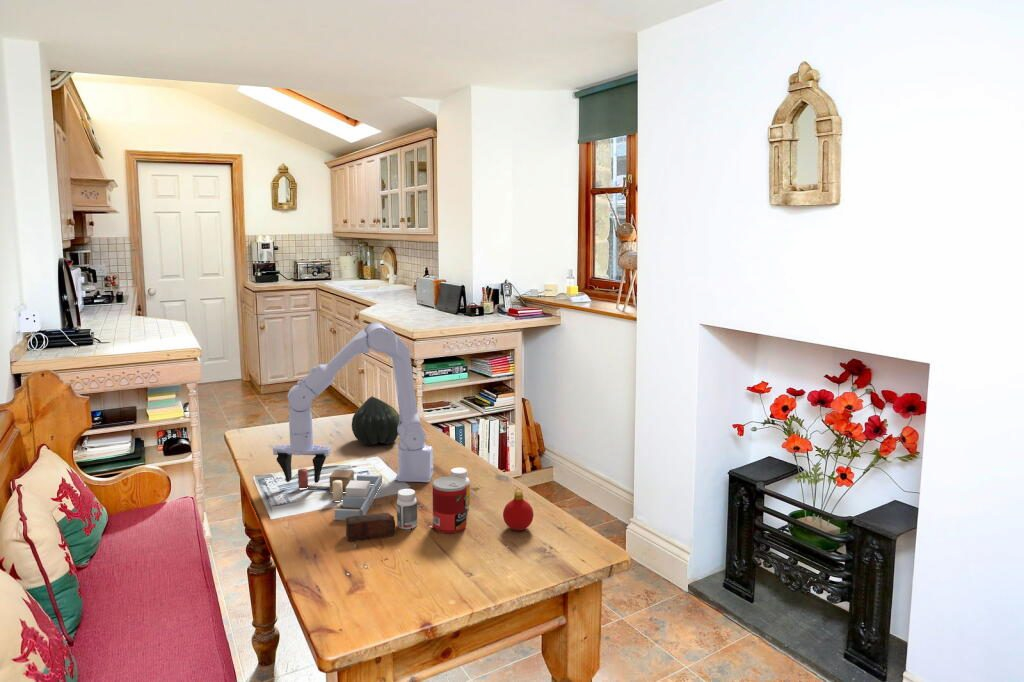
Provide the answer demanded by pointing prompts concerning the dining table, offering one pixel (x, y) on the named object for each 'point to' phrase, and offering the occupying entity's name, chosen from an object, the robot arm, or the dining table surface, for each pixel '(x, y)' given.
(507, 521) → the christmas ornament
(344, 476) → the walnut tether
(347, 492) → the white block with peg
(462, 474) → the supplement bottle
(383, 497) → the dining table surface
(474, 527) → the dining table surface
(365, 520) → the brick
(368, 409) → the squash
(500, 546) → the dining table surface
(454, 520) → the canned food
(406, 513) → the pill bottle
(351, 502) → the lane rack
